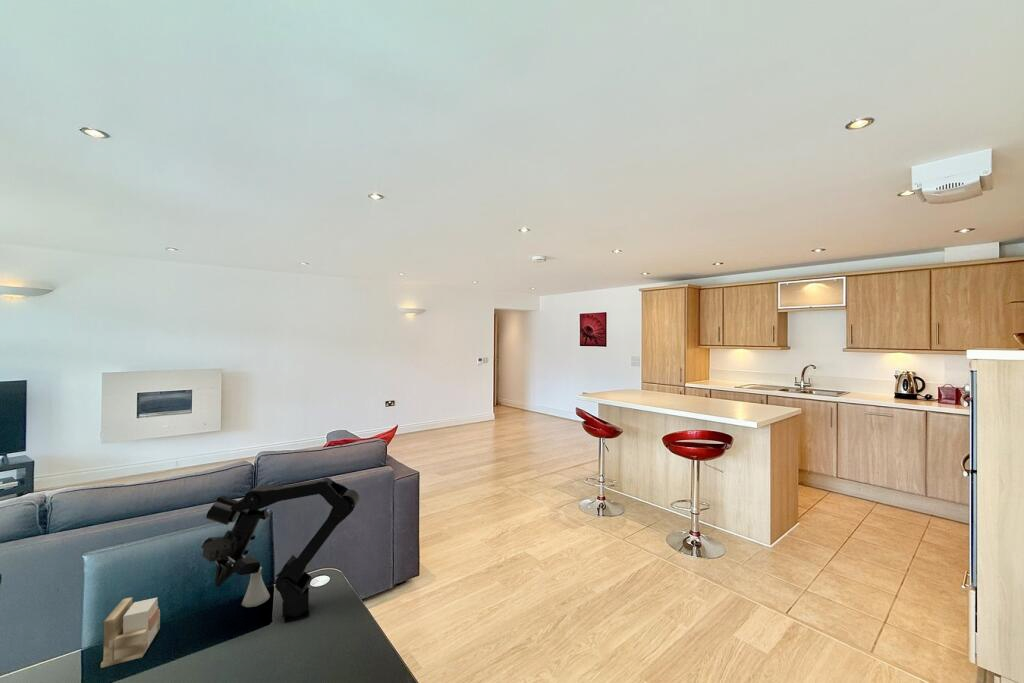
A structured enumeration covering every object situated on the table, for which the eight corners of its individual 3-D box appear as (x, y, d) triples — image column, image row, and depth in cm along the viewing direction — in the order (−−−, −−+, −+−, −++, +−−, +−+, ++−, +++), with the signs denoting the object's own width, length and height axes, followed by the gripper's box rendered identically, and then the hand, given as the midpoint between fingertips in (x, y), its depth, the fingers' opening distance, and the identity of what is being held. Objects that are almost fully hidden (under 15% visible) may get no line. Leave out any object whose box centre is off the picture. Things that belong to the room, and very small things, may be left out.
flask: (256, 609, 125) (256, 575, 125) (236, 607, 126) (236, 573, 127) (274, 596, 132) (274, 563, 132) (255, 594, 133) (255, 562, 134)
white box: (159, 630, 114) (159, 597, 114) (149, 645, 108) (150, 610, 108) (133, 636, 112) (134, 602, 112) (122, 652, 105) (123, 616, 106)
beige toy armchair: (159, 631, 116) (160, 591, 116) (144, 656, 106) (145, 612, 106) (120, 641, 112) (120, 599, 113) (100, 668, 102) (101, 621, 103)
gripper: (197, 518, 117) (168, 575, 113) (237, 545, 109) (207, 608, 106) (233, 517, 127) (208, 570, 123) (273, 542, 119) (246, 599, 116)
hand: (216, 586), depth 117 cm, fingers closed
